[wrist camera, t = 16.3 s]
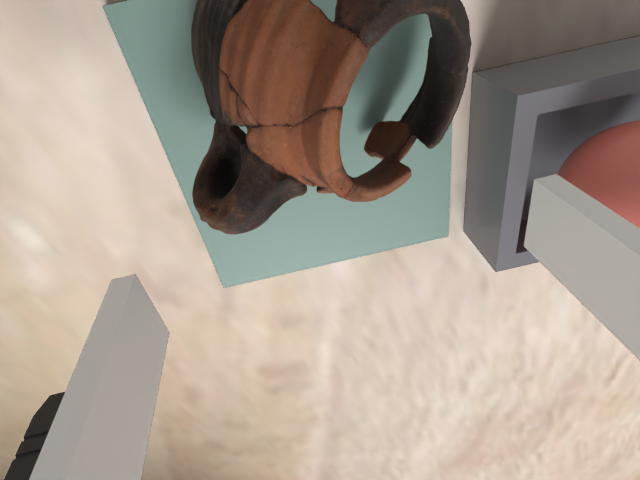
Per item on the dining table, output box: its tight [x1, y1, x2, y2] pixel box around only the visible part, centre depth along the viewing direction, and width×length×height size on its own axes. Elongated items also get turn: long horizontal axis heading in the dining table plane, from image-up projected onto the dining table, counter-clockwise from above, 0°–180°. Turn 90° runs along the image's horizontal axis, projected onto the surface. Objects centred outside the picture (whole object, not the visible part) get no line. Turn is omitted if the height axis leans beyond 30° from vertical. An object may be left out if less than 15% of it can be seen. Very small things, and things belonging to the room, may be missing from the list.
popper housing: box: [464, 36, 640, 272], centre depth 21 cm, size 10×10×4 cm
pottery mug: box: [191, 0, 471, 235], centre depth 16 cm, size 12×10×8 cm
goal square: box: [103, 0, 452, 288], centre depth 20 cm, size 14×15×1 cm
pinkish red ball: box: [557, 120, 640, 228], centre depth 18 cm, size 6×6×6 cm
